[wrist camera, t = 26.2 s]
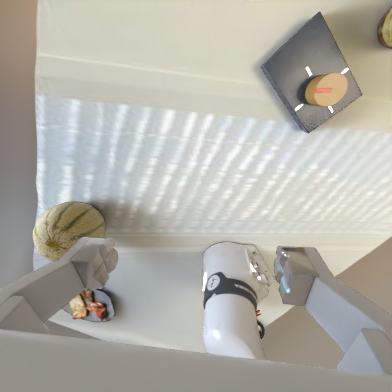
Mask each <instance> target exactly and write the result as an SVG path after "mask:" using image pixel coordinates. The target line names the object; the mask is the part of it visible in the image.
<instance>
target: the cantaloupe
mask: <svg viewBox="0 0 392 392" xmlns="http://www.w3.org/2000/svg"><path fill="white" fill-rule="evenodd" d="M105 231H106V225H105V221H104V218H103V217H102V215H101V213H100V212H99V211H98V210H97V209H95V208H93V207H92V206H90V205H89V204H87V203H83V202H76V201H71V202H65V203H62V204H59V205H57V206H54V207H52V208H50V209H48V210H47V211H45V212H44V213H43V214H42V215H41V217H40V218H39V220H38V221H37V224H36V226H35V228H34V230H33V241H34V244H35V247H36V249H37V250H38V252H39V253H40V254H41V255H43V256H44V257H46V258H48V259H50V260H52V261H56V260H57V261H59V260H60V259H61V258H62V257H63V256H64V255H65V254H66V253H67V252H68V251H69V250H70V248H71V247H72V246H73V245H74V244H75V243H76V242H77V241H78V240H79V239H80V238H83V237H90V238H104V235H105Z"/></svg>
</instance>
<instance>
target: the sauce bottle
mask: <svg viewBox="0 0 392 392" xmlns="http://www.w3.org/2000/svg"><path fill="white" fill-rule="evenodd" d="M378 39H379V42H380V43H381V44H382V45H383V46H385V47H389V48H392V7H391V8H390V9H389V10H388V11H387V13H386V14H385V15H384V17H383V18H382V20H381V22H380V25H379V30H378Z"/></svg>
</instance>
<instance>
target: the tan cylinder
mask: <svg viewBox="0 0 392 392" xmlns="http://www.w3.org/2000/svg"><path fill="white" fill-rule="evenodd" d="M347 88H348V81H347V78H346V77H345V75H344V74H342V73H339V72H333V73H328V74H323V75H319V76H317V77H315V78H314V79H313V80H312V81H311V82H310V83H309V84H308V86H307V88H306V92H305V97H306V100H307V102H308V103H309V104H311V105H314V106H322V107H329V106H332V105H334V104H336V103H338V102H339V101H340V100H341V99H342V98H343V97H344V95H345V93H346V91H347Z"/></svg>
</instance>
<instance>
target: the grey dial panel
mask: <svg viewBox="0 0 392 392" xmlns="http://www.w3.org/2000/svg"><path fill="white" fill-rule="evenodd" d="M261 69H262V71H263V72H264V74H265V75H266V77H267V78H268V80H269V81H270V83H271V84H272V86H273V87H274V89H275V90H276V92H277V93H278V95H279V96H280V98H281V99H282V101H283V103H284V104H285V106H286V107H287V109H288V110H289V112H290V113H291V115H292V116H293V118H294V119H295V121H296V122H297V124H298V125H299V127H300V128H301V130H302V131H304V132H306V133H310V132H311V131H312V130H314V129H315V128H317V127H318V126H319V125H321V124H322V123H324V122H325V121H326V120H328V119H329V118H331V117H332V116H334V115H335V114H336V113H338V112H339V111H341V110H342V109H343V108H345V107H346V106H348V105H349V104H350V103H352V102H353V101H355V100H356V99H357V98H359V97H360V96H362V93H361V91H360V89H359V87H358V85H357V83H356V81H355V79H354V77H353V75H352V73H351V71H350V69H349V67H348V66H347V64H346V62H345V60H344V58H343V56H342V54H341V52H340V50H339V48H338V46H337V44H336V42H335V40H334V38H333V36H332V34H331V32H330V30H329V28H328V26H327V24H326V22H325V20H324V18H323V16H322V14H321V12H318V13H317V14H316V15H315V16H314V17H312V18H311V19H310V20H309V21H308V22H307V23H306V24H305V25H304V26H303V27H302V28H301V29H300V30H299V31H298V32H297V33H296V34H294V35H293V36H292V37H291V38H290V39H289V40H288V41H287V42H286V43H285V44H284V45H283V46H282V47H281V48H280V49H279V50H278V51H277V52H276V53H275V54H274V55H273V56H272V57H270V58H269V59H268V60H267V61H266V62H265V63H264V64H263V65H262V66H261ZM333 72H339V73H342V74H344V75H345V77H346V78H347V81H348V88H347V91H346V93H345V95H344V97H343V98H342V99H341V100H340V101H339V102H338V103H336V104H334V105H332V106H329V107H322V106H314V105H311V104H309V103H308V102H307V100H306V97H305V92H306V88H307V86H308V84H309V83H310V82H311V81H312V80H313V79H314V78H315V77H317V76H319V75H323V74H328V73H333Z"/></svg>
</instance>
